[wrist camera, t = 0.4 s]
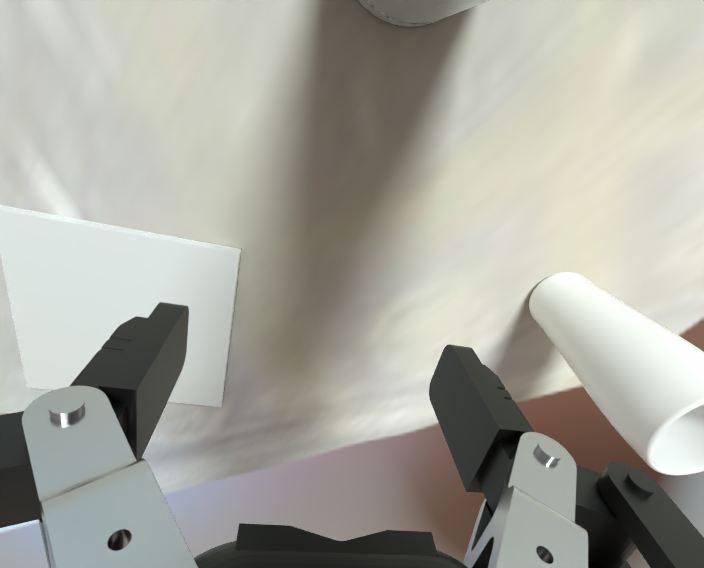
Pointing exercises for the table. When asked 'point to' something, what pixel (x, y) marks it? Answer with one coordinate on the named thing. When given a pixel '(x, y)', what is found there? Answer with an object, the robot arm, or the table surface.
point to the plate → (113, 296)
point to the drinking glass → (629, 370)
